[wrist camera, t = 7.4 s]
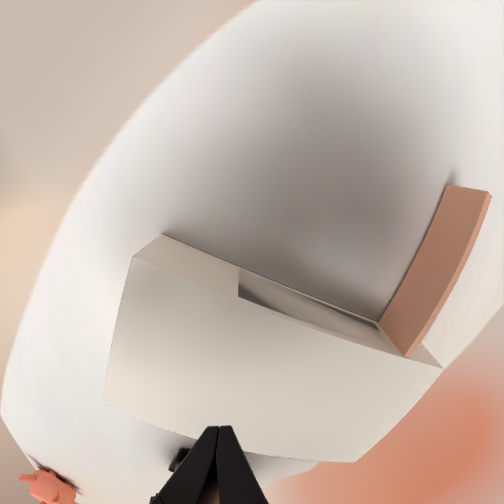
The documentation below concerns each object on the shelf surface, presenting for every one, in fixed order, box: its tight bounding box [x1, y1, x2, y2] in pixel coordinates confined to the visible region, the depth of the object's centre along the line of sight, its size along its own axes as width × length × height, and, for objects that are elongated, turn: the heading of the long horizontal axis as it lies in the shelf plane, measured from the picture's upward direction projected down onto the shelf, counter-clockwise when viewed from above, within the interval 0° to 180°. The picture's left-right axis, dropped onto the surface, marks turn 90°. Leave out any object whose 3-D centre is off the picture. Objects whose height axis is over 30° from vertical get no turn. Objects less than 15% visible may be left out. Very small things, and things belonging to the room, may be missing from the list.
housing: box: [103, 234, 444, 462], centre depth 18 cm, size 12×22×5 cm, turn 66°
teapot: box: [18, 468, 76, 504], centre depth 26 cm, size 12×12×10 cm
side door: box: [378, 185, 492, 358], centre depth 16 cm, size 1×12×4 cm, turn 155°
